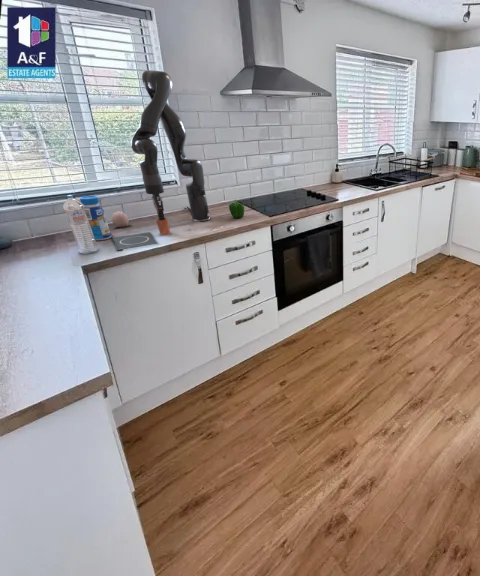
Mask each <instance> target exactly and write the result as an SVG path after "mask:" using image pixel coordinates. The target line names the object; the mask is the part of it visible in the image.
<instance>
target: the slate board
mask: <svg viewBox="0 0 480 576" xmlns="http://www.w3.org/2000/svg"><path fill="white" fill-rule="evenodd" d="M112 241H113V243H114V245H115V248H116V251H117V252H121V251H123V250H127V249H132V248H140V247H144V246H151V245H157V244H158V242H157V241H156V239H155V237H154V236H153V234H151V232H150V231H149V232H141V233H135V234H129V235H121V236H114V237H112Z"/></svg>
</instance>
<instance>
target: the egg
mask: <svg viewBox="0 0 480 576" xmlns="http://www.w3.org/2000/svg"><path fill="white" fill-rule="evenodd" d="M111 222H112V224H113V225H115V227H117V228H124V227H126V226H128V224H129V217H128V216H127V215H126V214H125V213H124V212H122V211H115V212H113V214H112V216H111Z"/></svg>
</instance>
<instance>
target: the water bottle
mask: <svg viewBox="0 0 480 576" xmlns="http://www.w3.org/2000/svg"><path fill="white" fill-rule="evenodd" d="M66 197H67V199H66V200H65V202H64V203H63V205H62V208H63V210H64V212H65V215H66V218H67V222H68V224H69V227H70V231H71V233H72V235H73V238H74V241H75V244H76V247H77V249H78V251H79V254H82V255H88V254H89V255H90V254H94V253H97V252H98V251H99V248H98V247H99V246H98V244H97V240H95V238H94V235H93V232H92V229H91V226H90V223H89V221H88V218H87V215H86V212H85V209H84V205H83V204H82V203H81V201H80V200H78V199H76V198H74V196H73V194H68V195H66Z"/></svg>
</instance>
